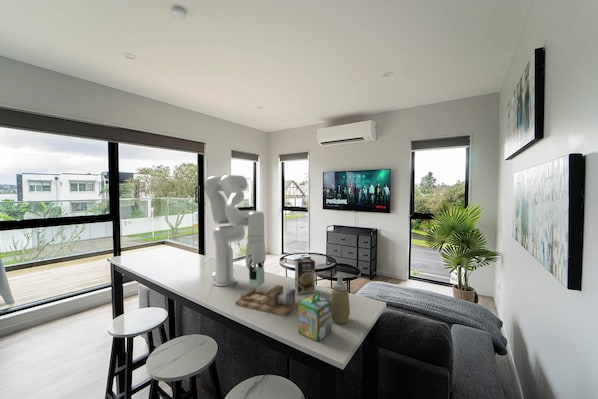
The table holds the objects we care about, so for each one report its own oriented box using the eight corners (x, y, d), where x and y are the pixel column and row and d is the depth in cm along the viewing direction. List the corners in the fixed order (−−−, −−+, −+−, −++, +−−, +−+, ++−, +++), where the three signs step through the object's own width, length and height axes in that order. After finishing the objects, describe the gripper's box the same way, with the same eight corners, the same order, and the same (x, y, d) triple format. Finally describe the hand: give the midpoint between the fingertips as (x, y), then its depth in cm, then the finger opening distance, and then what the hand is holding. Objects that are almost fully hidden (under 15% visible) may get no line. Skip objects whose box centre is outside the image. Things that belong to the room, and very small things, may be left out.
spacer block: (249, 284, 117) (249, 269, 117) (255, 281, 121) (255, 266, 121) (258, 286, 115) (258, 271, 115) (264, 282, 119) (264, 267, 119)
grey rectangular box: (267, 302, 112) (267, 290, 112) (274, 297, 118) (274, 285, 118) (289, 307, 108) (289, 294, 108) (295, 301, 114) (295, 289, 113)
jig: (235, 304, 115) (235, 288, 115) (253, 293, 128) (253, 278, 127) (286, 316, 104) (286, 298, 104) (300, 302, 117) (300, 286, 117)
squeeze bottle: (347, 315, 105) (347, 272, 105) (352, 325, 97) (352, 279, 97) (328, 315, 105) (328, 272, 104) (331, 325, 97) (331, 279, 96)
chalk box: (312, 323, 99) (312, 285, 99) (332, 331, 93) (332, 291, 93) (297, 333, 92) (297, 292, 92) (317, 343, 86) (317, 299, 86)
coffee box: (297, 294, 126) (297, 262, 125) (294, 289, 132) (294, 259, 132) (315, 292, 128) (315, 261, 128) (311, 288, 135) (311, 257, 134)
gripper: (259, 235, 127) (259, 271, 127) (238, 241, 111) (238, 282, 112) (272, 236, 124) (272, 273, 124) (252, 242, 108) (252, 284, 109)
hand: (256, 277), depth 118 cm, fingers closed on spacer block, 4 cm apart
